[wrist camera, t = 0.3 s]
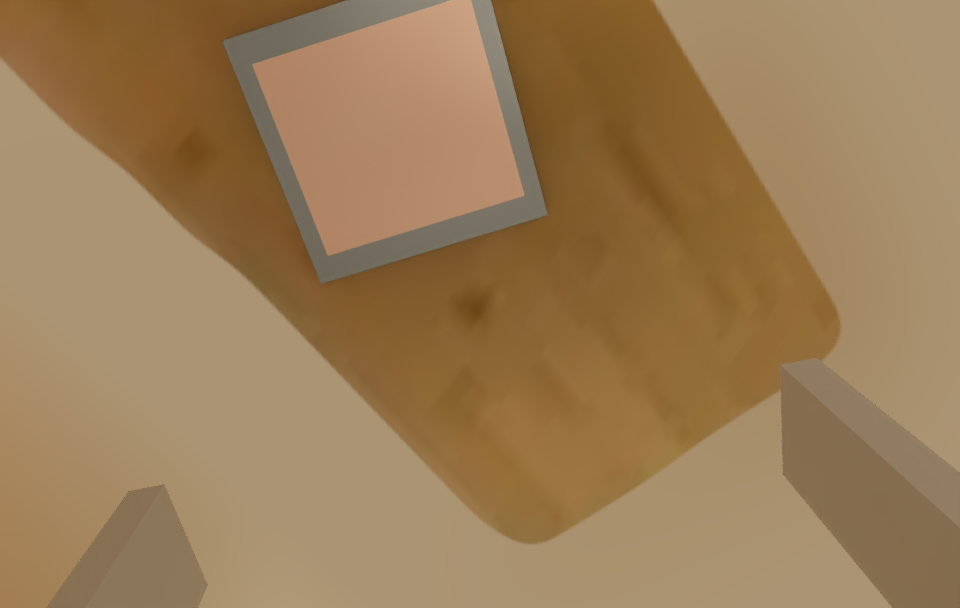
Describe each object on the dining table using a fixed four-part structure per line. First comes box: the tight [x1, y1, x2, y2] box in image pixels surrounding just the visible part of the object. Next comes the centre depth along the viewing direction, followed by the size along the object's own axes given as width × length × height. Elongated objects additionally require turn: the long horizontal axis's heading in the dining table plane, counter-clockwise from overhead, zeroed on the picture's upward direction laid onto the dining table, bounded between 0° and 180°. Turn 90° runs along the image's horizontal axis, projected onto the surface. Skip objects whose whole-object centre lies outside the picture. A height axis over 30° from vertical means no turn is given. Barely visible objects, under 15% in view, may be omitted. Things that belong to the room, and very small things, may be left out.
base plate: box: [222, 0, 548, 284], centre depth 37 cm, size 14×14×1 cm
